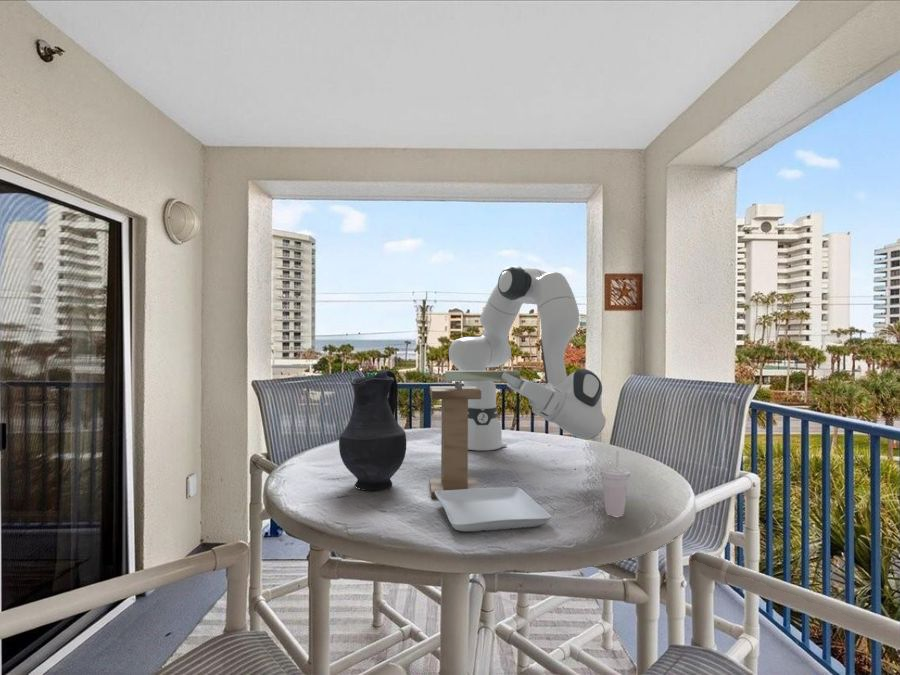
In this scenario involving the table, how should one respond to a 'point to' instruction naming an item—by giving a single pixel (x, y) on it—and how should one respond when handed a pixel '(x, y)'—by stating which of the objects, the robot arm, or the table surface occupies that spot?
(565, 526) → the table surface
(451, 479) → the shelf stand
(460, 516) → the salad plate
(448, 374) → the bar
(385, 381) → the pitcher
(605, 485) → the smoothie
